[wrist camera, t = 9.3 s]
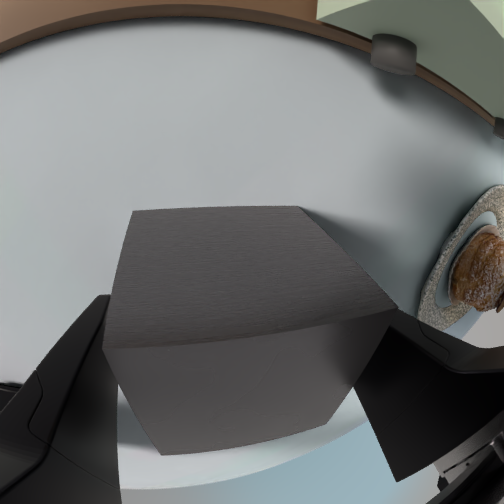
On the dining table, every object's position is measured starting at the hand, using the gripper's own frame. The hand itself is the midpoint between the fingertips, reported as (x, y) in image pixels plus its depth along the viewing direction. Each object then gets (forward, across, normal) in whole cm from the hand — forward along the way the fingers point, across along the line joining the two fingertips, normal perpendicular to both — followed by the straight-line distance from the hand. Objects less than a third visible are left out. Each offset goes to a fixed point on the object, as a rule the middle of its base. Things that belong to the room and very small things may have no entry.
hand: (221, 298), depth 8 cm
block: (+1, 0, 0) cm, 1 cm away
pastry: (+2, -17, +1) cm, 17 cm away
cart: (0, -8, -14) cm, 16 cm away
